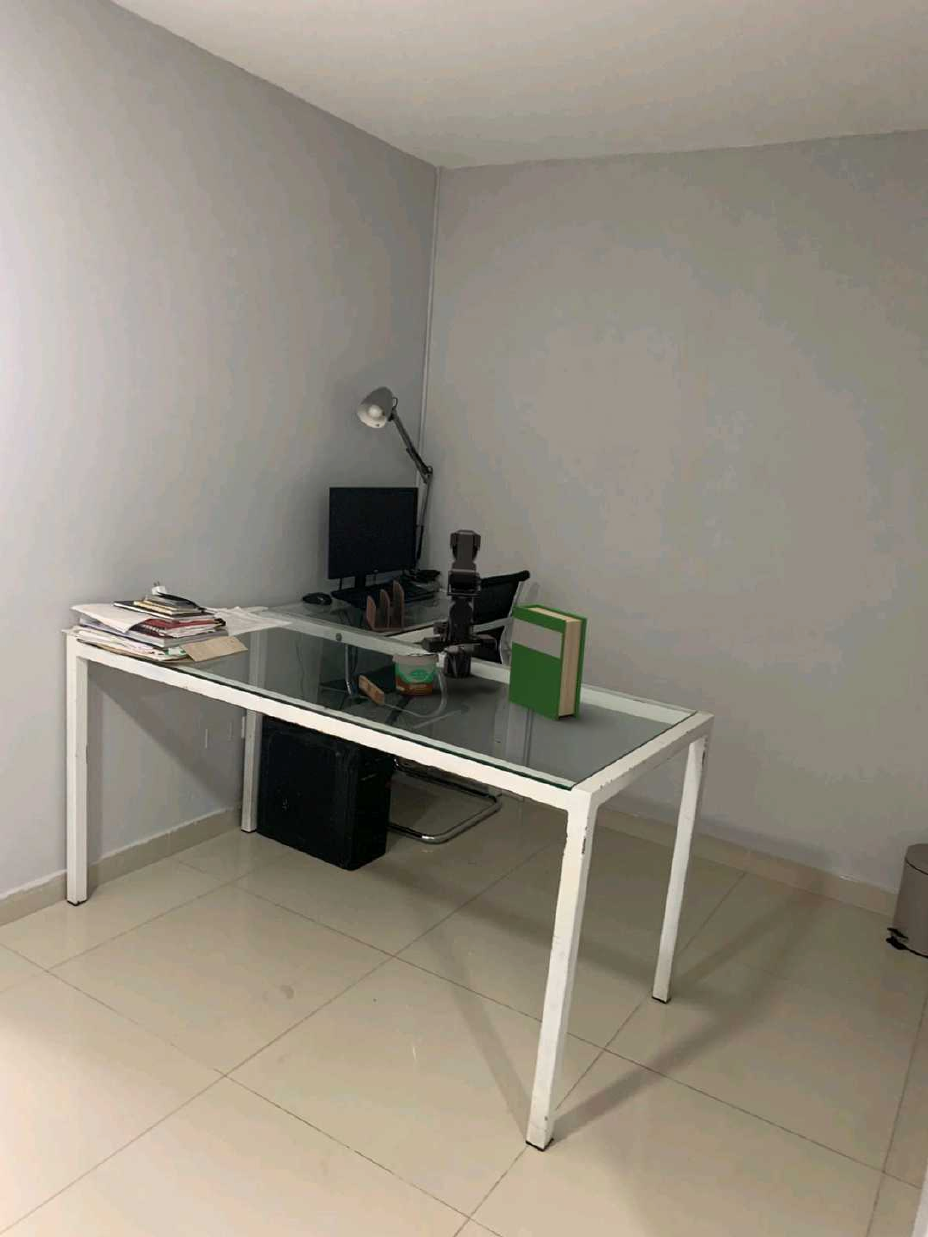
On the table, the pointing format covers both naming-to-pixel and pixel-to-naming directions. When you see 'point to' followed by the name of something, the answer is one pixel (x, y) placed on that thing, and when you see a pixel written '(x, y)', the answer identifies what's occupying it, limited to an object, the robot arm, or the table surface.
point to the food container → (415, 673)
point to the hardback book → (547, 660)
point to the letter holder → (387, 611)
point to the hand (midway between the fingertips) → (457, 676)
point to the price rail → (371, 690)
